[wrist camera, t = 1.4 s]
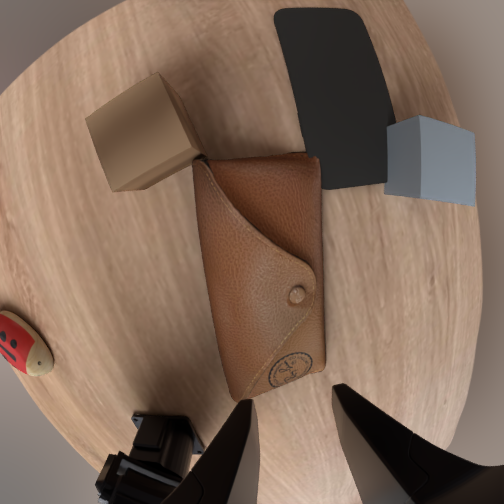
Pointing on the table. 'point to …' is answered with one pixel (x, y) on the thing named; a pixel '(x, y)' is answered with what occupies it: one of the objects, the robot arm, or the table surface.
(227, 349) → the sunglasses case
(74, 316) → the table surface
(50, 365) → the ladybug figurine
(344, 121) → the phone
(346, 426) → the robot arm
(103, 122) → the walnut block
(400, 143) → the slate block
